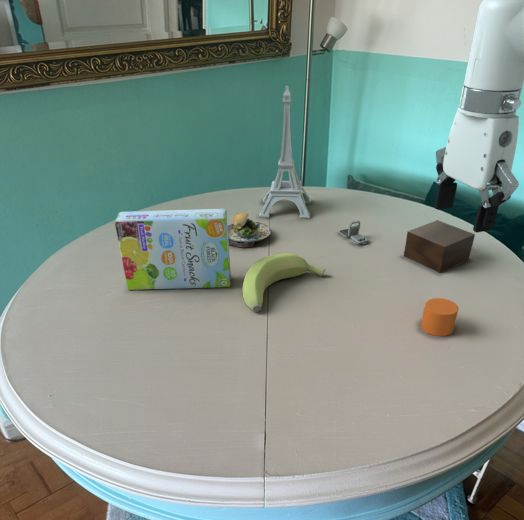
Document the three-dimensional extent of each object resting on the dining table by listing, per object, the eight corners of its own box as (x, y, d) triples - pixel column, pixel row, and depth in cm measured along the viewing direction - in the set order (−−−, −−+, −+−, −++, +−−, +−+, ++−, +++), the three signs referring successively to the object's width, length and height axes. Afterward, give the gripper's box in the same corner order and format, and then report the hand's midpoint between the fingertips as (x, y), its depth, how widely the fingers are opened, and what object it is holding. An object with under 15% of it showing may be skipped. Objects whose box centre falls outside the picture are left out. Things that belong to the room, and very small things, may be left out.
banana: (229, 253, 103) (317, 245, 110) (225, 274, 107) (310, 265, 114) (254, 299, 95) (346, 287, 103) (249, 320, 99) (338, 307, 107)
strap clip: (368, 243, 122) (370, 226, 120) (358, 246, 121) (360, 228, 119) (348, 230, 128) (350, 213, 126) (338, 232, 127) (339, 216, 125)
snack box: (231, 275, 110) (227, 207, 102) (230, 288, 106) (225, 218, 97) (131, 278, 110) (118, 209, 101) (126, 291, 106) (112, 221, 97)
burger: (257, 252, 119) (256, 221, 115) (213, 242, 124) (211, 212, 119) (279, 232, 128) (279, 203, 124) (238, 224, 132) (236, 195, 128)
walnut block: (469, 259, 115) (475, 234, 111) (439, 272, 110) (445, 246, 106) (432, 244, 121) (437, 219, 118) (403, 256, 116) (407, 231, 113)
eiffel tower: (258, 217, 136) (255, 91, 118) (263, 199, 147) (261, 81, 129) (309, 218, 135) (314, 91, 117) (311, 200, 145) (315, 81, 128)
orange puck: (459, 328, 93) (465, 307, 90) (439, 340, 90) (444, 318, 88) (434, 315, 97) (439, 294, 94) (414, 325, 94) (418, 304, 91)
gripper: (558, 111, 66) (520, 236, 76) (471, 88, 79) (448, 197, 90) (511, 117, 64) (478, 244, 74) (429, 92, 77) (410, 203, 87)
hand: (462, 218), depth 82 cm, fingers open, 9 cm apart
